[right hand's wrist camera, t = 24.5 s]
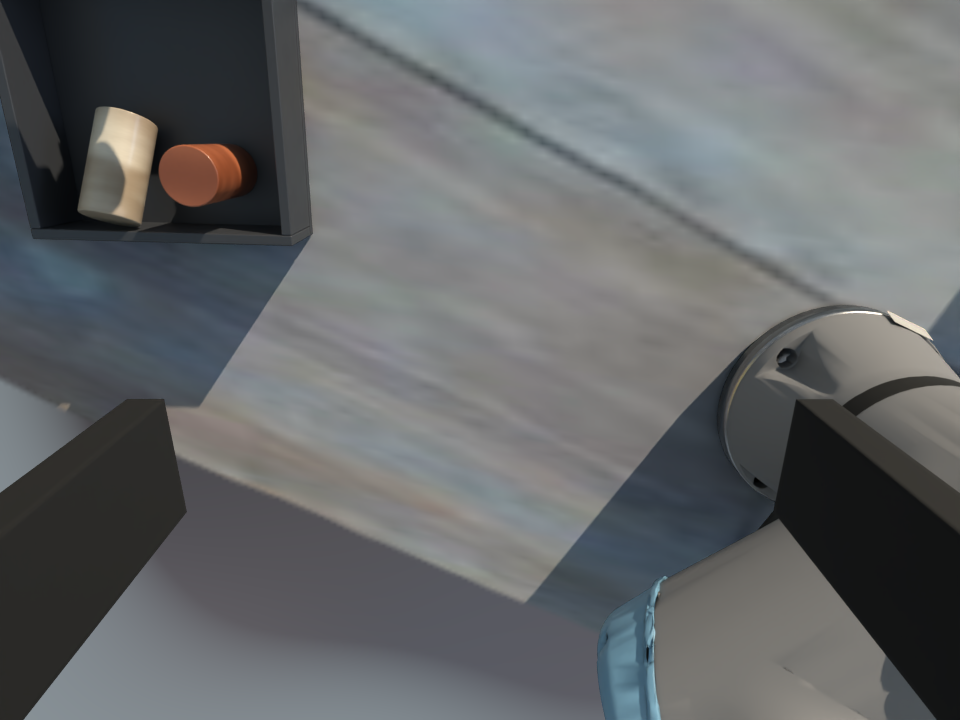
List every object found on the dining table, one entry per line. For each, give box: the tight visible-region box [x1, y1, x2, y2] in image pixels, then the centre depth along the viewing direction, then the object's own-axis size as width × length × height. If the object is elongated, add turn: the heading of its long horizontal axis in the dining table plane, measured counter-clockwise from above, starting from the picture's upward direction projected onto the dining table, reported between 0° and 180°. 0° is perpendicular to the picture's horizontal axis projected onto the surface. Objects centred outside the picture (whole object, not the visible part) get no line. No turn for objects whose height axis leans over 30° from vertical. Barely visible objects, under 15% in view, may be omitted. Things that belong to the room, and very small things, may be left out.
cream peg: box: [77, 106, 158, 227], centre depth 35 cm, size 3×3×6 cm
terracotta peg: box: [159, 144, 257, 207], centre depth 35 cm, size 3×3×6 cm
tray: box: [0, 0, 313, 246], centre depth 33 cm, size 24×15×5 cm, turn 178°
